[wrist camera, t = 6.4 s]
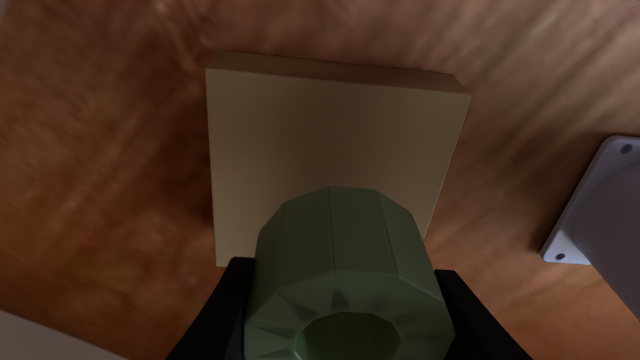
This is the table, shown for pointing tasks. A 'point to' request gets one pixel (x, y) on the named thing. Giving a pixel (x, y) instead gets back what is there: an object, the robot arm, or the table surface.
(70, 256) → the table surface
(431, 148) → the birch block
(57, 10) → the table surface
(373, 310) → the green ring
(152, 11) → the table surface
